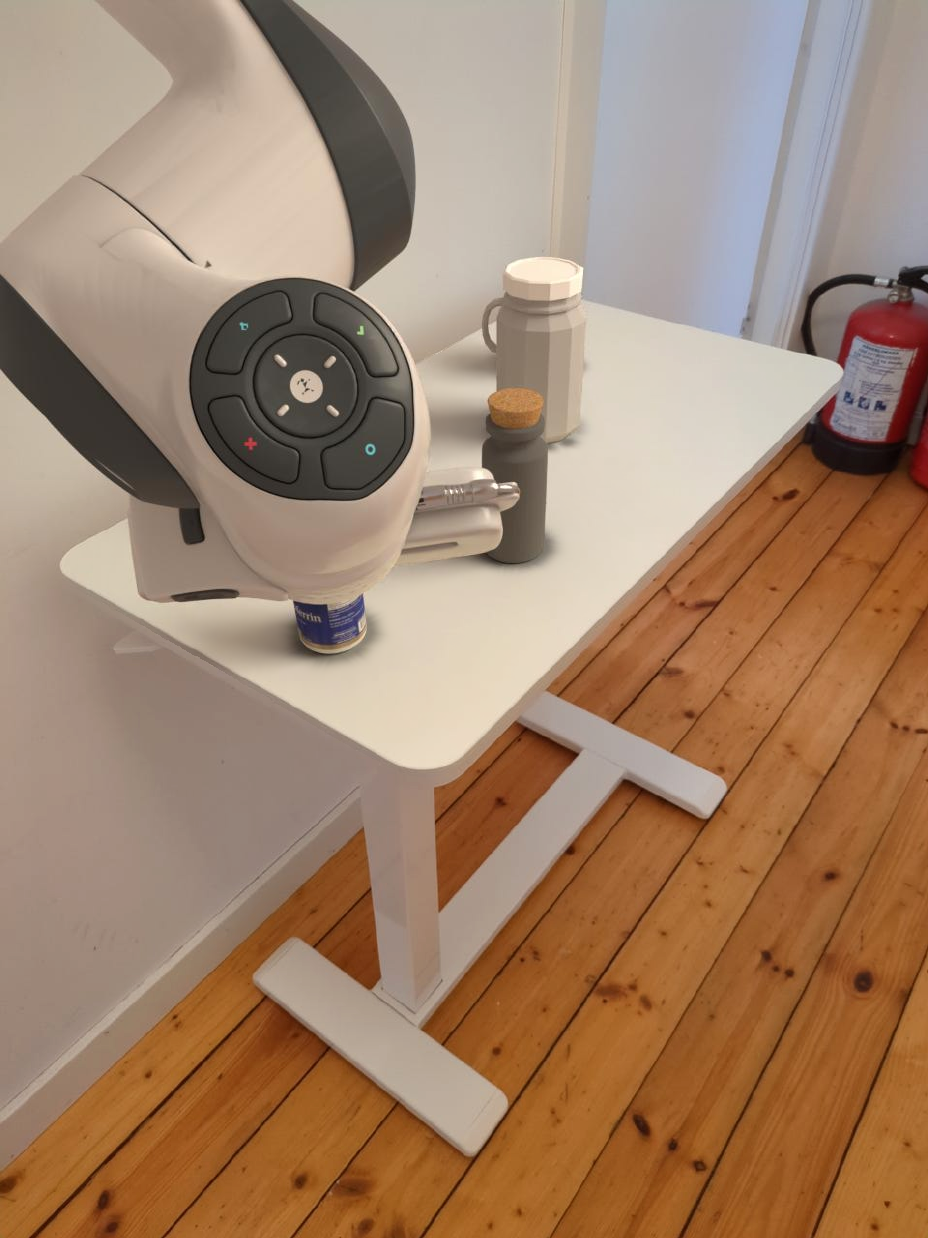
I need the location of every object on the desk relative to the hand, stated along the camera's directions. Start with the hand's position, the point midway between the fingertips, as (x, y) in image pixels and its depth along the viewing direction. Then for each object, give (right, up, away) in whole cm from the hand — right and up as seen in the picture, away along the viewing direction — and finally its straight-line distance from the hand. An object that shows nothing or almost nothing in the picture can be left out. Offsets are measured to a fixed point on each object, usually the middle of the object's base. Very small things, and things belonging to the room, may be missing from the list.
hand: (324, 562), depth 57 cm
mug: (+18, +30, +62) cm, 71 cm away
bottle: (+14, +3, +29) cm, 32 cm away
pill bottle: (-2, -5, +19) cm, 20 cm away
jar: (+17, +19, +47) cm, 54 cm away
